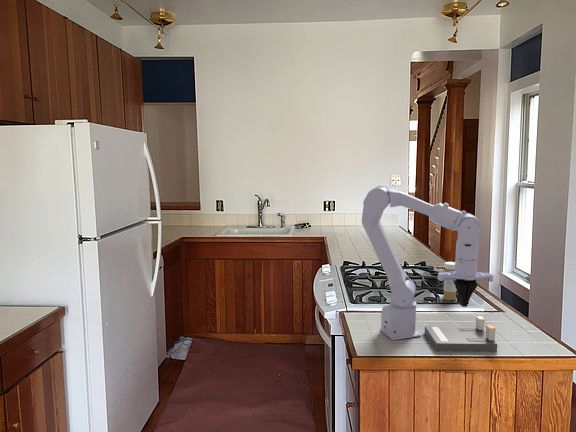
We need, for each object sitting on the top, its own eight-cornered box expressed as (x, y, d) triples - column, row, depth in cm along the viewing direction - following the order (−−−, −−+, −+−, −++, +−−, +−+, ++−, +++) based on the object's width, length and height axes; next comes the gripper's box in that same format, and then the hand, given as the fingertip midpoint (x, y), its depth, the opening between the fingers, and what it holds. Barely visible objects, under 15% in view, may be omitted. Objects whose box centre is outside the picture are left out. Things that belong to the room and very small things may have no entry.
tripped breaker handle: (489, 340, 120) (489, 328, 119) (485, 336, 122) (486, 324, 121) (494, 340, 119) (495, 328, 119) (491, 336, 122) (491, 324, 121)
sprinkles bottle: (446, 296, 164) (447, 260, 162) (458, 298, 161) (460, 262, 159) (440, 299, 161) (442, 263, 159) (453, 302, 157) (455, 265, 156)
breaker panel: (436, 351, 119) (436, 343, 119) (424, 332, 131) (424, 325, 131) (496, 351, 119) (497, 343, 118) (479, 333, 130) (479, 325, 130)
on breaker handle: (478, 329, 126) (479, 319, 126) (475, 326, 129) (476, 316, 128) (484, 330, 126) (484, 319, 126) (480, 326, 129) (481, 316, 128)
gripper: (444, 261, 119) (441, 310, 121) (499, 262, 118) (495, 311, 120) (436, 255, 126) (434, 301, 128) (488, 255, 125) (485, 302, 127)
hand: (463, 305), depth 124 cm, fingers closed
